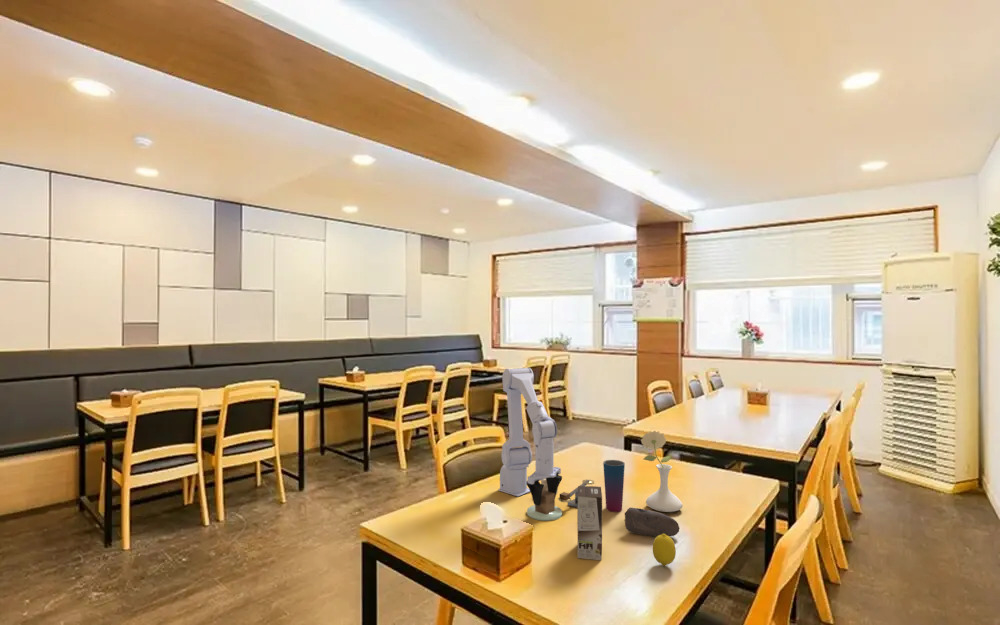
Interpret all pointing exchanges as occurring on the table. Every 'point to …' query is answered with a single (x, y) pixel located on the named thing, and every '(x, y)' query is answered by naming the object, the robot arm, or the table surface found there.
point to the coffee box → (589, 522)
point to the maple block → (545, 485)
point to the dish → (544, 517)
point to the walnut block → (546, 503)
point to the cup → (614, 484)
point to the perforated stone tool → (650, 523)
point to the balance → (566, 496)
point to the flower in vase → (663, 496)
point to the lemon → (664, 549)
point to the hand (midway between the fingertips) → (544, 501)
